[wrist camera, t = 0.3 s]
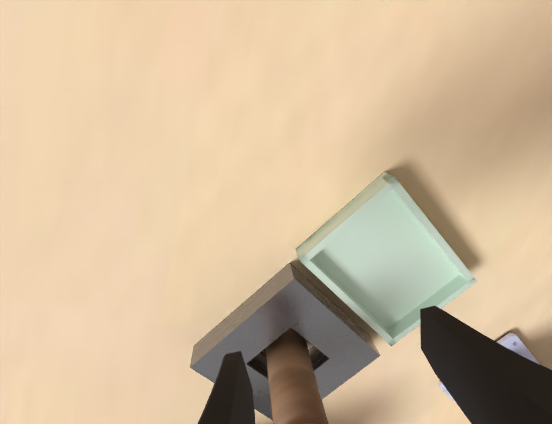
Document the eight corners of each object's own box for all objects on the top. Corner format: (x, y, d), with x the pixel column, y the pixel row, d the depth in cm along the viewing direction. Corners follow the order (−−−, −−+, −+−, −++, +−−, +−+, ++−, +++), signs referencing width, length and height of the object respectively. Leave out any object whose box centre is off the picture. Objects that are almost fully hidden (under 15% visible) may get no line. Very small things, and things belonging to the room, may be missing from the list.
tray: (463, 270, 24) (477, 281, 23) (382, 332, 26) (391, 346, 24) (384, 171, 21) (395, 177, 19) (295, 249, 22) (299, 260, 20)
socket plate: (370, 336, 26) (380, 355, 24) (281, 404, 27) (284, 427, 25) (289, 263, 22) (294, 278, 20) (193, 346, 24) (189, 367, 22)
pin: (317, 339, 25) (356, 458, 17) (283, 366, 26) (304, 494, 17) (286, 313, 24) (311, 428, 16) (250, 342, 24) (257, 468, 16)
